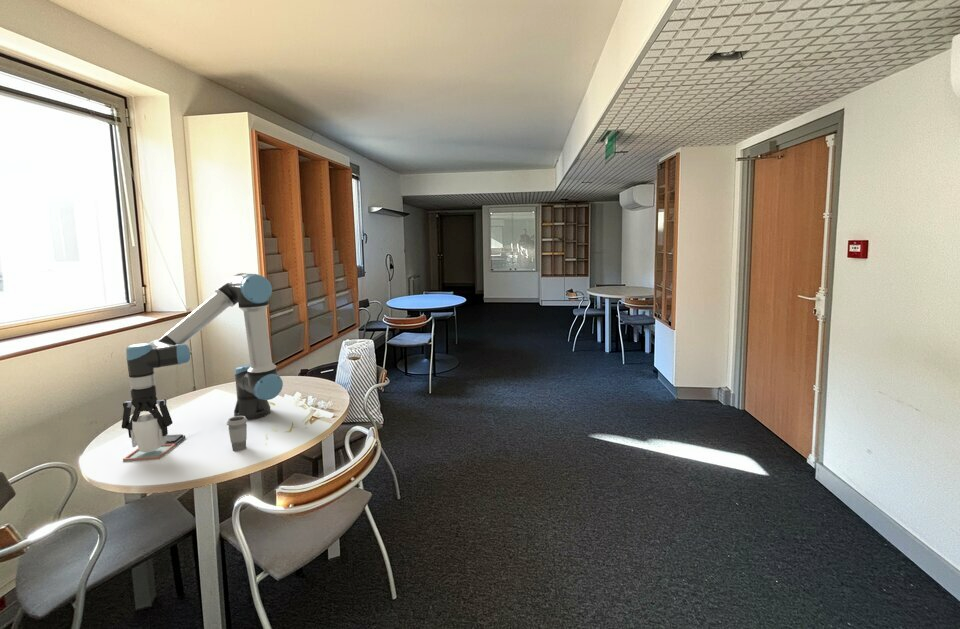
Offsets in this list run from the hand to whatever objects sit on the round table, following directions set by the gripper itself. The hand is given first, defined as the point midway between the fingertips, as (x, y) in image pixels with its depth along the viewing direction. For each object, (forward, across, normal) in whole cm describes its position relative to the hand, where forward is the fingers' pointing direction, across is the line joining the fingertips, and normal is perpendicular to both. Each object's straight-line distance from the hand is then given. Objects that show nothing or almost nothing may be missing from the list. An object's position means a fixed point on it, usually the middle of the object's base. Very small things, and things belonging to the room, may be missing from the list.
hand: (149, 444), depth 178 cm
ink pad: (+3, 0, -10) cm, 10 cm away
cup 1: (+2, 0, 0) cm, 2 cm away
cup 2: (+4, -31, 0) cm, 32 cm away
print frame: (+3, 0, 0) cm, 3 cm away
